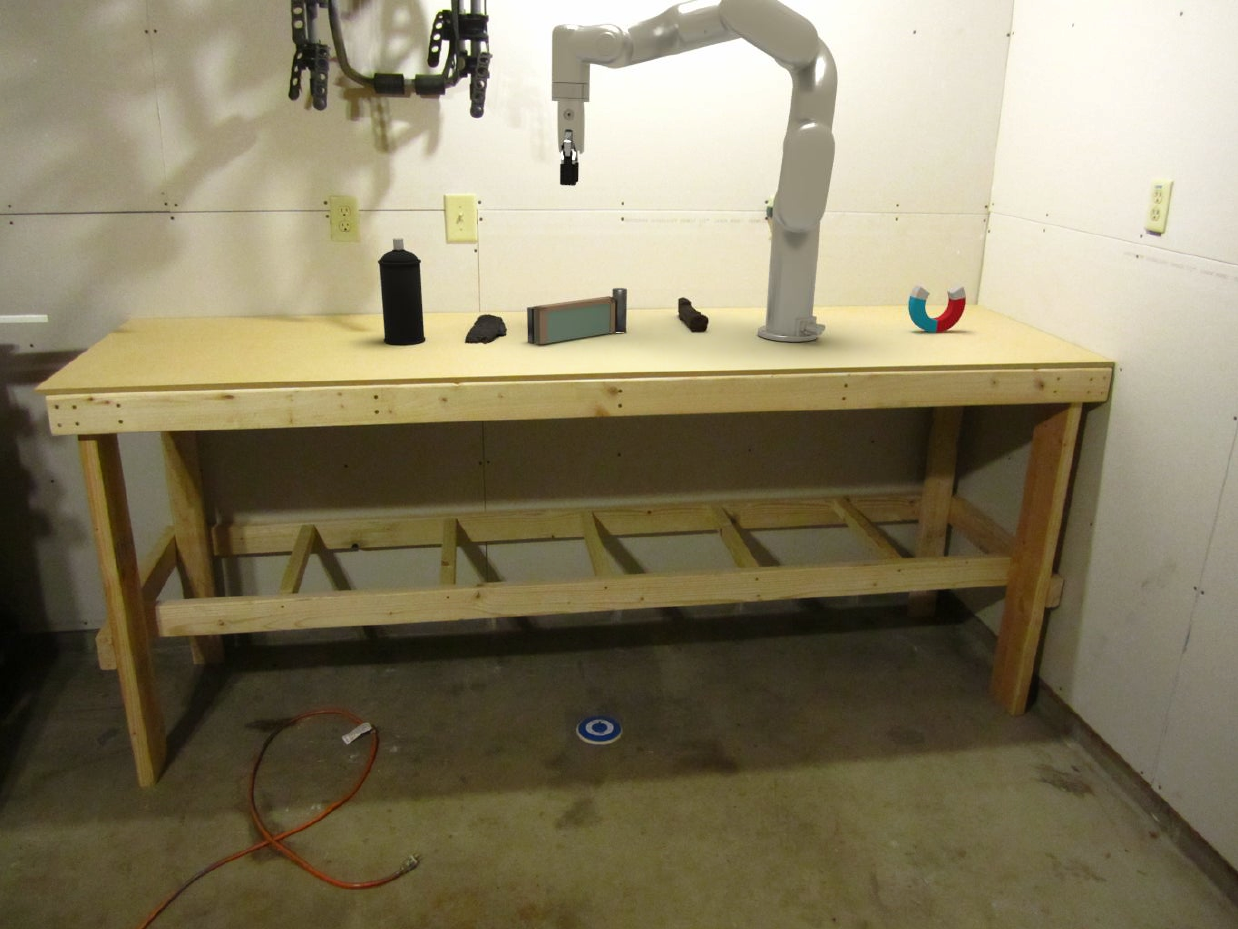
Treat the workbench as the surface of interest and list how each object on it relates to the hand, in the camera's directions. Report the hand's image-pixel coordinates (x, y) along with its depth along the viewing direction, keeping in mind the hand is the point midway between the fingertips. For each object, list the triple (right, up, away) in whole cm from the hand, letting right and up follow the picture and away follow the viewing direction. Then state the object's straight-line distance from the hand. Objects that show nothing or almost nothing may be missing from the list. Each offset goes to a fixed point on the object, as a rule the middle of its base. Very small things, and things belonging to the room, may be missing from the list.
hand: (569, 183), depth 192 cm
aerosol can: (-33, -33, -4) cm, 47 cm away
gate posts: (+2, -31, +1) cm, 31 cm away
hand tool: (+25, -27, +16) cm, 40 cm away
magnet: (+78, -29, +11) cm, 84 cm away
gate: (+1, -31, -1) cm, 31 cm away
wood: (-17, -30, +5) cm, 35 cm away
